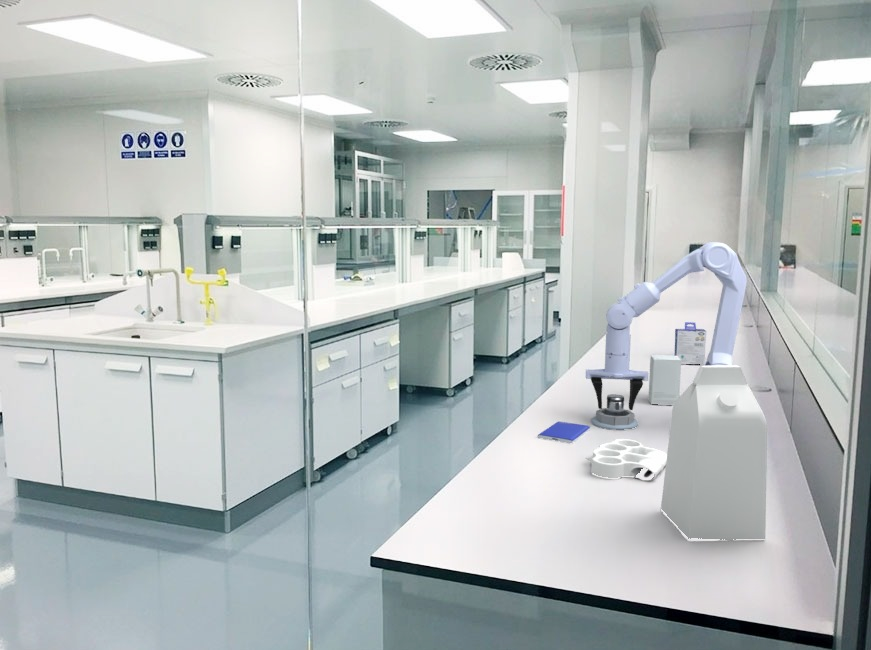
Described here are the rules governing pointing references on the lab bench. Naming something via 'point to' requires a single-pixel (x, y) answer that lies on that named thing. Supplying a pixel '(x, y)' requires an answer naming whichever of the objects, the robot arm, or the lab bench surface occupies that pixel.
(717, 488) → the milk
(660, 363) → the supplement box
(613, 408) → the silver metal canister
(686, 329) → the ink cartridge box
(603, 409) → the collar
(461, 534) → the lab bench surface
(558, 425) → the hard drive
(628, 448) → the white holed flat tray
